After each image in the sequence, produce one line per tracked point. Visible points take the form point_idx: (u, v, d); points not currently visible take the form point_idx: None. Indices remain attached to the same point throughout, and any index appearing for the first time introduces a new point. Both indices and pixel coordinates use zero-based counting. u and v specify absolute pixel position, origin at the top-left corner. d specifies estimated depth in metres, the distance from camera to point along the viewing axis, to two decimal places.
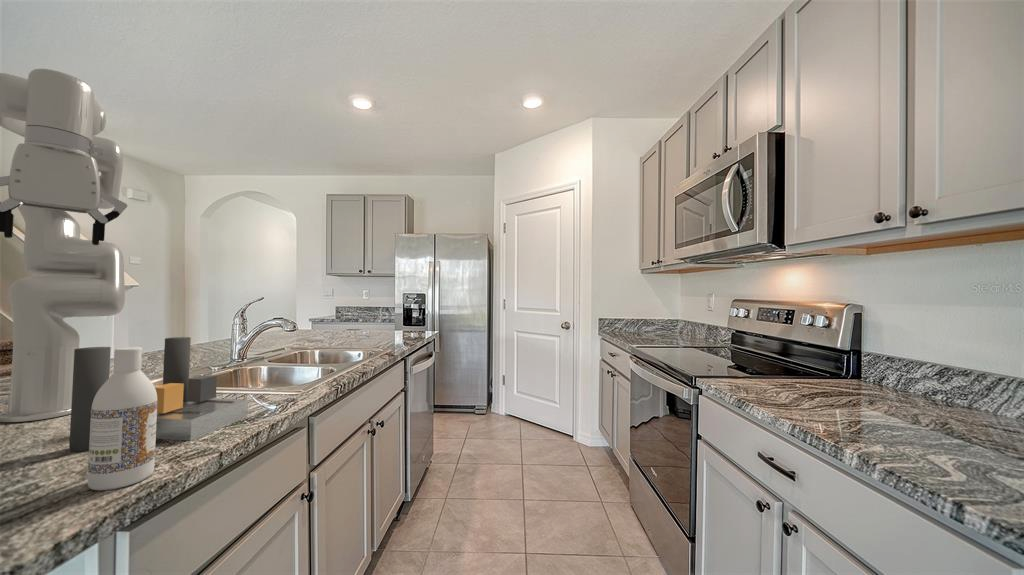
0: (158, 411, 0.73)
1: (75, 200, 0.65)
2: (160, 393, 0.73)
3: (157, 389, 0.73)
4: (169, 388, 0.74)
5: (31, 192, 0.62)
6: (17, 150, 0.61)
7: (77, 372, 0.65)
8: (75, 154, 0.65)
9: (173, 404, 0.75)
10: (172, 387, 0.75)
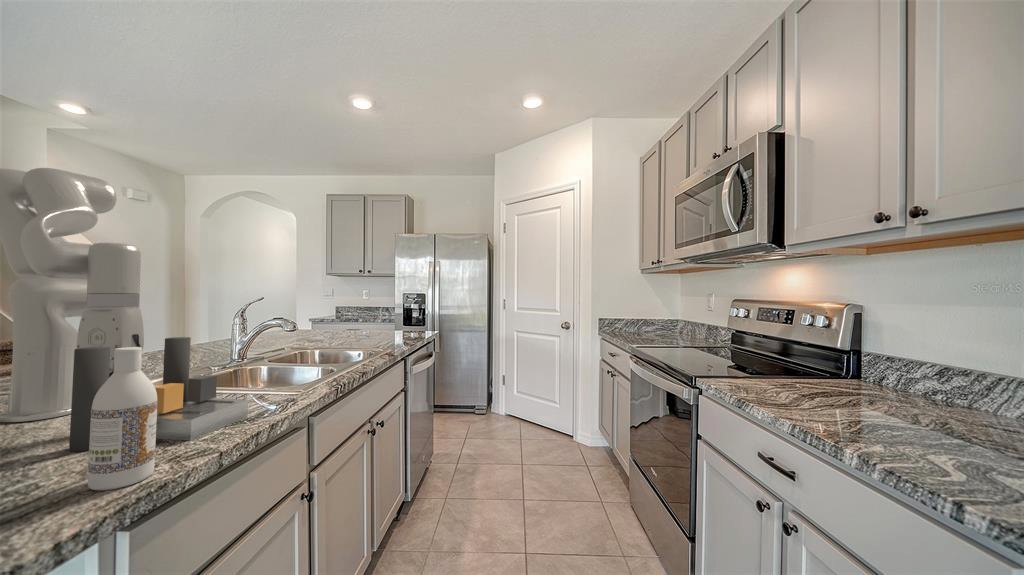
0: (158, 411, 0.73)
1: None
2: (160, 393, 0.73)
3: (157, 389, 0.73)
4: (169, 388, 0.74)
5: None
6: (140, 315, 0.78)
7: (77, 372, 0.65)
8: None
9: (173, 404, 0.75)
10: (172, 387, 0.75)
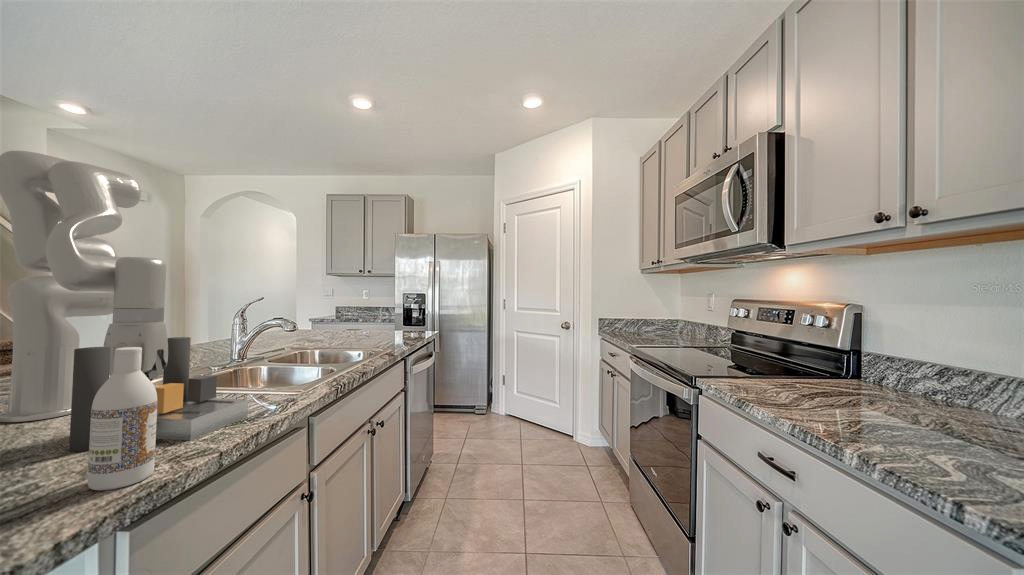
0: (158, 411, 0.73)
1: None
2: (160, 393, 0.73)
3: (157, 389, 0.73)
4: (169, 388, 0.74)
5: None
6: (165, 329, 0.77)
7: (77, 372, 0.65)
8: None
9: (173, 404, 0.75)
10: (172, 387, 0.75)
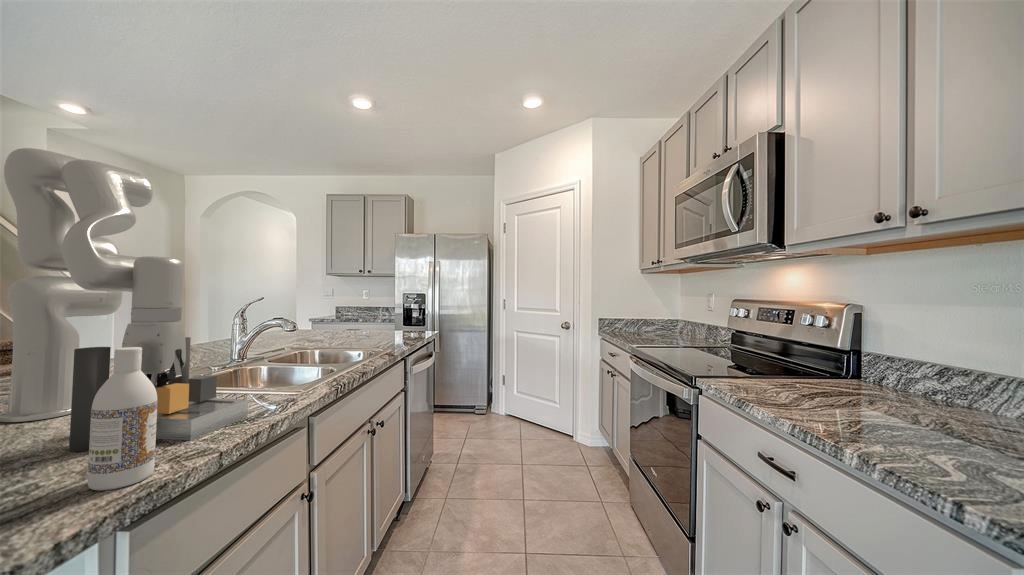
0: (164, 411, 0.73)
1: None
2: (165, 394, 0.73)
3: (163, 389, 0.73)
4: (175, 388, 0.74)
5: None
6: (183, 329, 0.77)
7: (77, 372, 0.65)
8: None
9: (179, 404, 0.75)
10: (178, 387, 0.75)
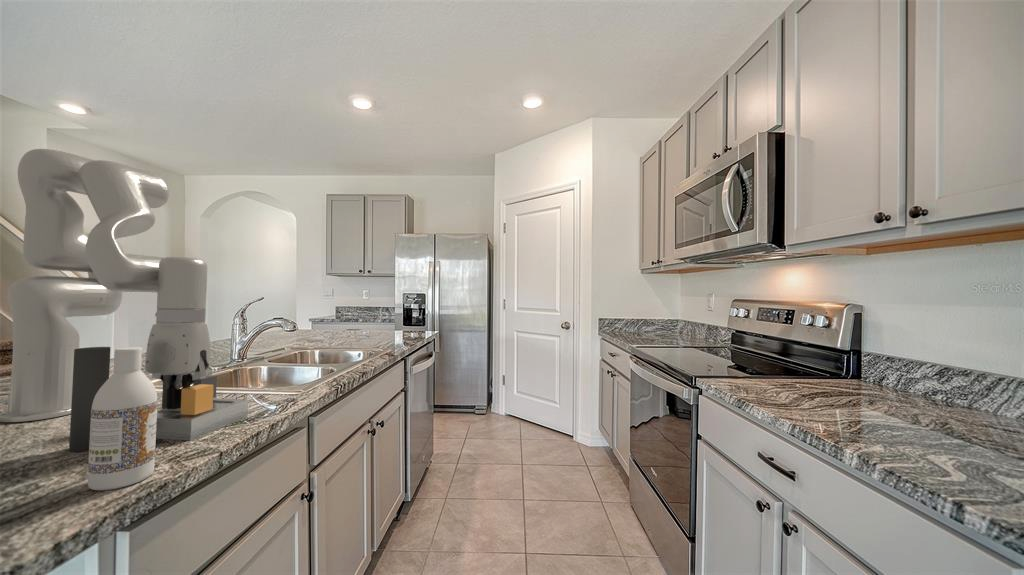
0: (189, 412, 0.73)
1: None
2: (191, 395, 0.73)
3: (188, 390, 0.73)
4: (200, 389, 0.74)
5: None
6: (207, 330, 0.77)
7: (77, 372, 0.65)
8: None
9: (204, 405, 0.75)
10: (203, 388, 0.74)
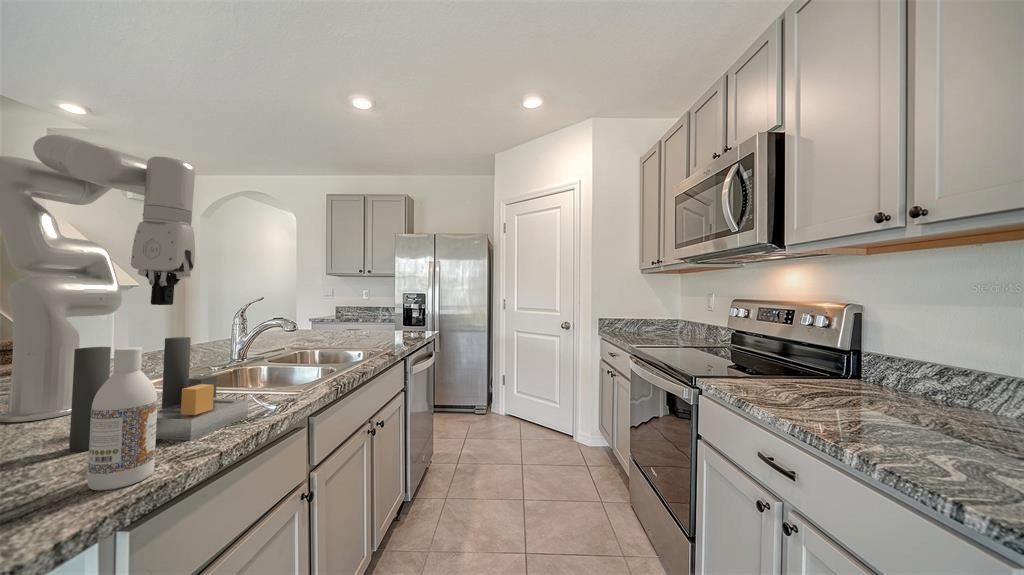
0: (190, 412, 0.73)
1: None
2: (191, 395, 0.73)
3: (189, 390, 0.73)
4: (200, 389, 0.74)
5: None
6: (192, 232, 0.79)
7: (78, 372, 0.65)
8: None
9: (204, 405, 0.75)
10: (203, 388, 0.74)
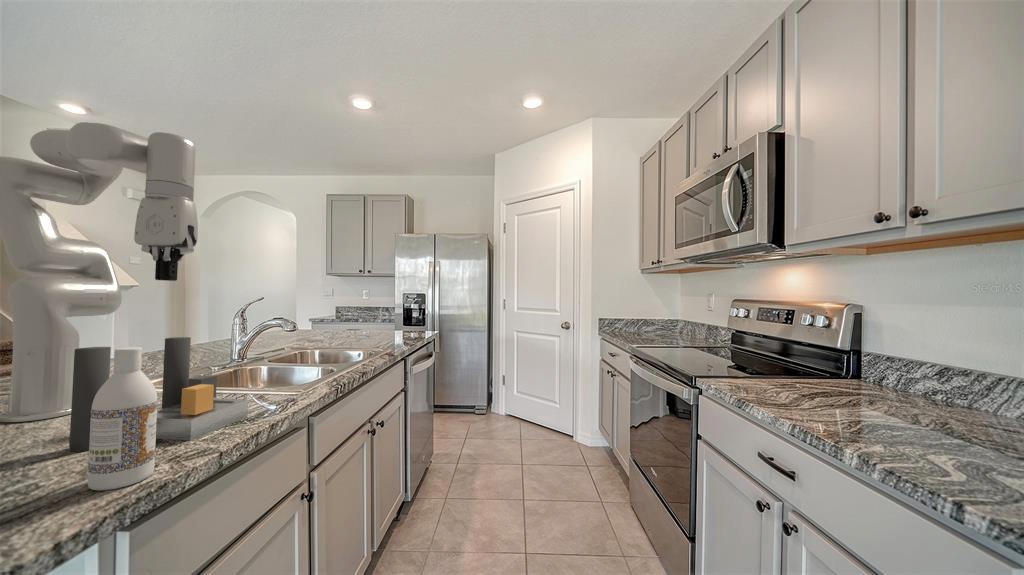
0: (190, 412, 0.73)
1: None
2: (191, 395, 0.73)
3: (189, 390, 0.73)
4: (200, 389, 0.74)
5: None
6: (195, 208, 0.79)
7: (78, 372, 0.65)
8: None
9: (204, 405, 0.75)
10: (203, 388, 0.74)
